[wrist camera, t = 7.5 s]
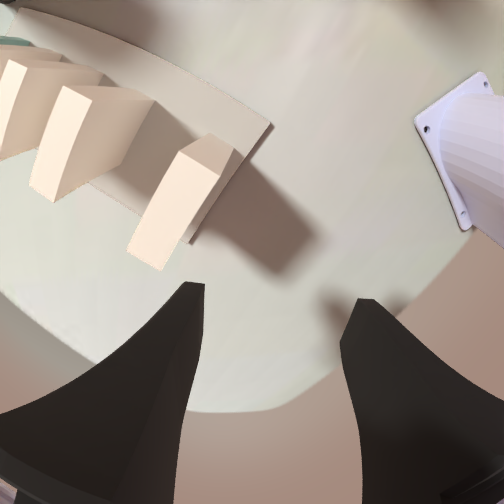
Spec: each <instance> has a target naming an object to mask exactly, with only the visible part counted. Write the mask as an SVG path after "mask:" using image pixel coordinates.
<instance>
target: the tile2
mask: <svg viewBox="0 0 504 504" xmlns="http://www.w3.org/2000/svg"><path fill="white" fill-rule="evenodd" d="M154 102H155V100H154V99H152V98H150V97H148V96H147V95H145V94H143V93H141V92H139V91H137V90H135V89H132V88H120V87H106V86H79V85H63V87H62V89H61V91H60V94H59V96H58V98H57V100H56V103H55V105H54V108H53V110H52V113H51V115H50V118H49V120H48V123H47V126H46V129H45V131H44V134H43V137H42V140H41V143H40V146H39V150H38V153H37V156H36V159H35V163H34V166H33V170H32V174H31V178H30V182H29V186H31V187H32V188H33V189H35V190H36V191H37V192H39V193H40V194H42V195H43V196H44V197H46V198H47V199H49V200H50V201H52V202H53V203H54V202H56V201H57V200H59V199H61V198H62V197H64V196H65V195H67V194H69V193H70V192H72V191H74V190H75V189H77V188H79V187H80V186H82V185H84V184H86V183H87V182H89V181H91V180H93V179H94V178H96V177H98V176H100V175H102V174H104V173H105V172H107V171H109V170H111V169H113V168H115V167H117V166H119V165H121V163H122V161H123V159H124V157H125V155H126V153H127V151H128V149H129V147H130V145H131V143H132V141H133V139H134V137H135V135H136V133H137V132H138V130H139V128H140V126H141V124H142V122H143V121H144V119H145V117H146V115H147V114H148V112H149V110H150V108H151V107H152V105H153V103H154Z"/></svg>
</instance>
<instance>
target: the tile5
mask: <svg viewBox="0 0 504 504" xmlns="http://www.w3.org/2000/svg"><path fill="white" fill-rule="evenodd" d="M29 44H30V41H28V40H25V39H22V38H19V37H8V36H0V45H18V46H29Z"/></svg>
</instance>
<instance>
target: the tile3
mask: <svg viewBox="0 0 504 504" xmlns="http://www.w3.org/2000/svg"><path fill="white" fill-rule="evenodd" d="M103 75H104V73H102V72H100V71H97V70H95V69H93V68H91V67H89V66H87V65H81V64H73V63H64V62H54V61H42V60H23V59H9V60H8V63H7V65H6V68H5V70H4V73H3V75H2V78H1V81H0V161H2V160H4V159H7V158H9V157H12V156H14V155H17V154H20V153H23V152H25V151H28V150H31V149H34V148H37V147H39V146H40V143H41V140H42V137H43V134H44V131H45V129H46V126H47V123H48V120H49V118H50V115H51V113H52V110H53V108H54V105H55V103H56V100H57V98H58V96H59V94H60V91H61V89H62V87H63V85H79V86H98V84H99V82H100V80H101V78H102V77H103Z"/></svg>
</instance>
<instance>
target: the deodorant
mask: <svg viewBox="0 0 504 504" xmlns="http://www.w3.org/2000/svg"><path fill="white" fill-rule="evenodd" d="M13 1H15V0H0V3H2V4H9V3H11V2H13Z"/></svg>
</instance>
